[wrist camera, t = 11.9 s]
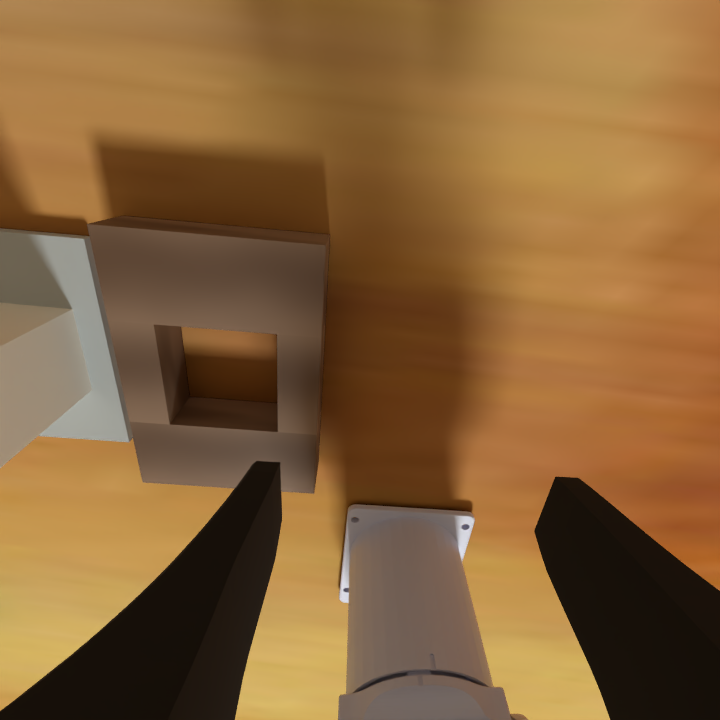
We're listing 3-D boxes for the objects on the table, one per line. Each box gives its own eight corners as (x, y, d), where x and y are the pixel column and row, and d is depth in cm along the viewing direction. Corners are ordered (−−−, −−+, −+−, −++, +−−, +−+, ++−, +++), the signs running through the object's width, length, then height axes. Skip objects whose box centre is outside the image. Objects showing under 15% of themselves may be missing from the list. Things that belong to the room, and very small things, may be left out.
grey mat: (134, 435, 22) (129, 442, 22) (7, 426, 22) (-1, 433, 22) (92, 236, 17) (83, 238, 17) (-72, 221, 17) (-86, 223, 17)
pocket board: (318, 461, 23) (313, 493, 21) (164, 451, 23) (142, 482, 21) (330, 234, 17) (325, 245, 15) (122, 215, 17) (86, 224, 15)
